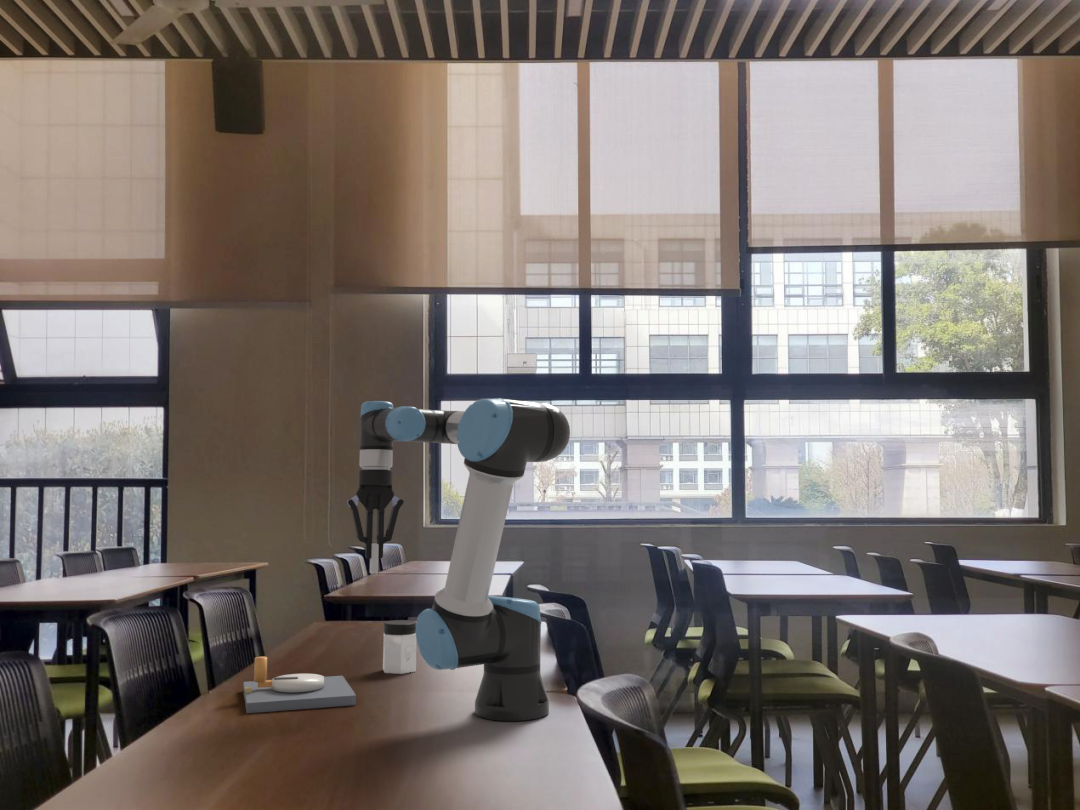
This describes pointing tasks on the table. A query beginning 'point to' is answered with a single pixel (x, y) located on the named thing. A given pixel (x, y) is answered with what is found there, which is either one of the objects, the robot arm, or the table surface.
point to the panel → (298, 697)
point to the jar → (399, 647)
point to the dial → (286, 679)
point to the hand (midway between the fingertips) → (373, 573)
